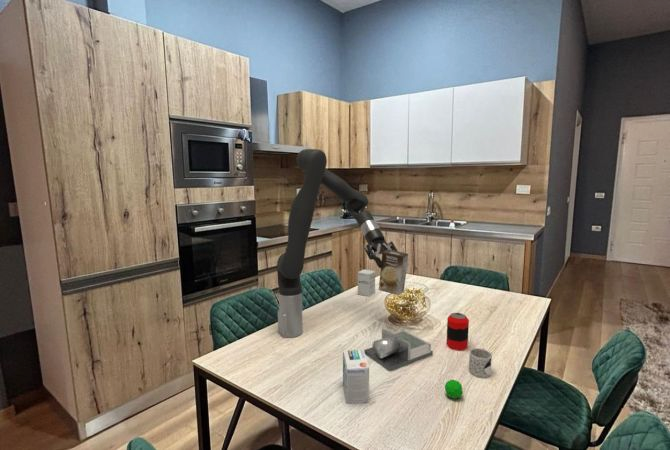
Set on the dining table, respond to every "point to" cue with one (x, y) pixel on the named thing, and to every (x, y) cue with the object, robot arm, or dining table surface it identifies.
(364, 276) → the supplement box
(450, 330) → the soda can
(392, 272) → the coffee box
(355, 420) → the dining table surface
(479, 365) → the mug
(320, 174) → the robot arm
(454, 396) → the green ball
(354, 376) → the light bulb box
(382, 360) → the motor mount
